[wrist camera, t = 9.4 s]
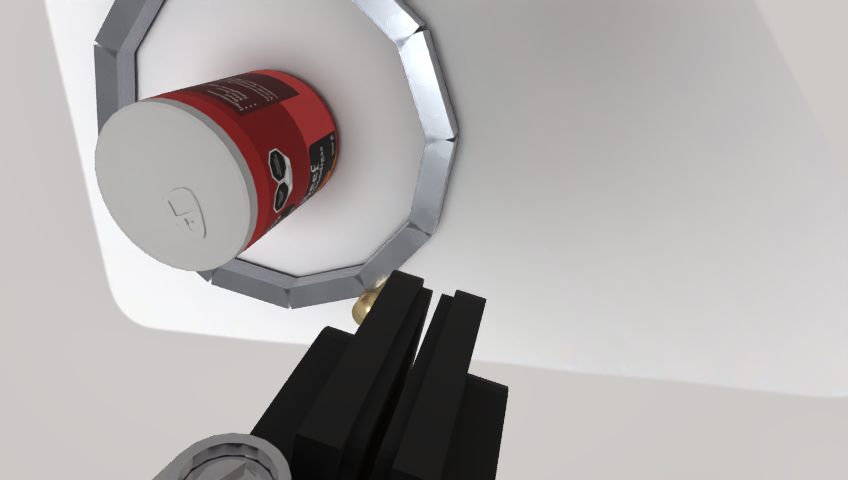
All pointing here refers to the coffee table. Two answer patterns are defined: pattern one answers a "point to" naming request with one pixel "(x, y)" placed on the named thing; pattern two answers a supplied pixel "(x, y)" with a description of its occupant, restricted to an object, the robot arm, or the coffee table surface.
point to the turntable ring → (430, 95)
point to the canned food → (214, 165)
